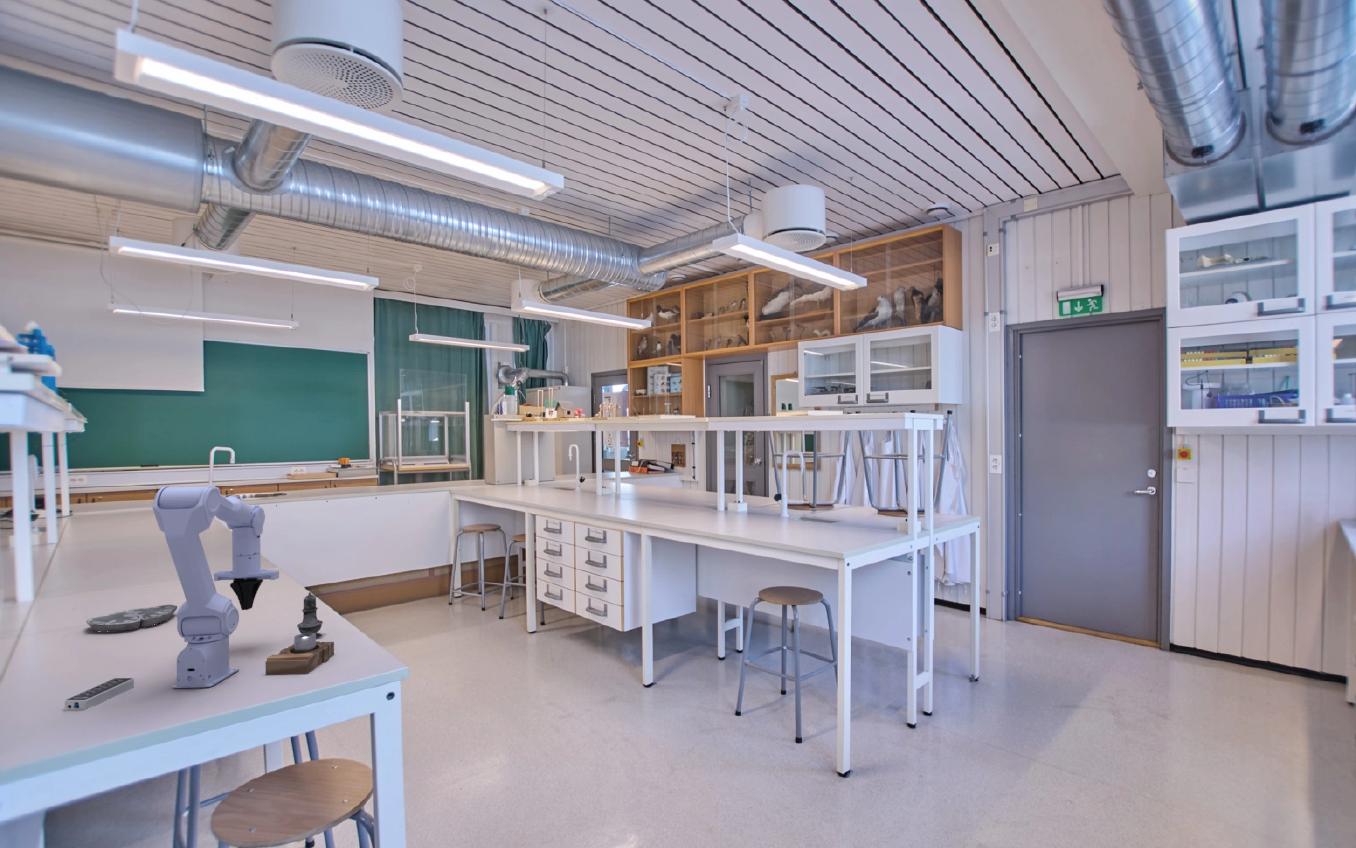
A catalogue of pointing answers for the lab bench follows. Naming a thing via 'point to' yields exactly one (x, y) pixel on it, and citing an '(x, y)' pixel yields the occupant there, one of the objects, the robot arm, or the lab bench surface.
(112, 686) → the multiport hub
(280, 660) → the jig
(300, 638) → the bushing
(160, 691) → the lab bench surface
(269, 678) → the lab bench surface
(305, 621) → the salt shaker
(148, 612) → the brain slice
